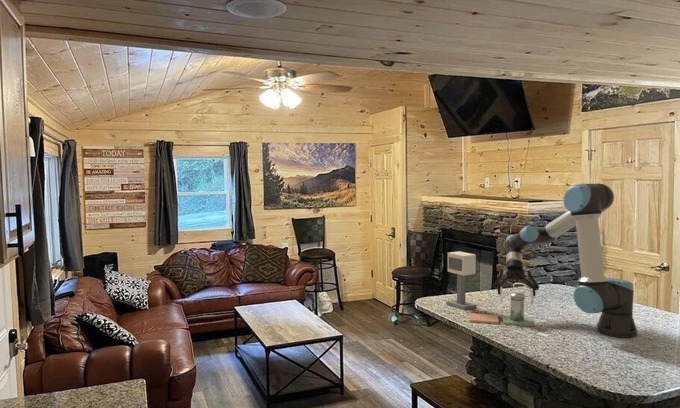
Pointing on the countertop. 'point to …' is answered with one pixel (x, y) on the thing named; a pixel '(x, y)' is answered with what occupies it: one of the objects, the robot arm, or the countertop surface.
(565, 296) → the countertop surface
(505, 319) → the green tile
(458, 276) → the mounted unit
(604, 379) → the countertop surface
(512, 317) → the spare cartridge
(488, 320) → the terracotta tile
